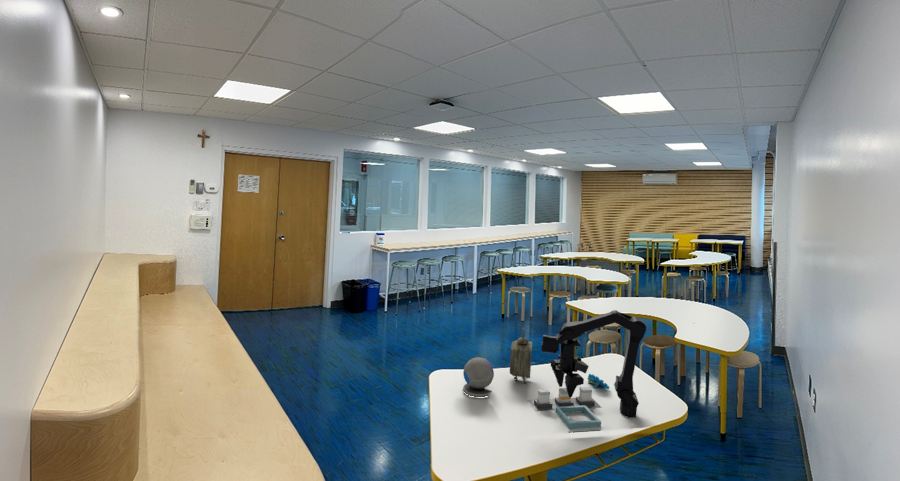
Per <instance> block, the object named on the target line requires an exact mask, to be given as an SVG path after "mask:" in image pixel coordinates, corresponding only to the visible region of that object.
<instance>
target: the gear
mask: <svg viewBox="0 0 900 481" xmlns="http://www.w3.org/2000/svg"><path fill="white" fill-rule="evenodd" d="M587 384H588V385H589V384H591V385H593V388H592V389H597V387H599V386H600V387H602V388H604V389H606V390H610V386H609V385H608V383H606V382H605V381H604V380H603V379H600V378H599V376H595V374H593V373H592V374H591V373H589V374H588V376H587Z"/></svg>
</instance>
